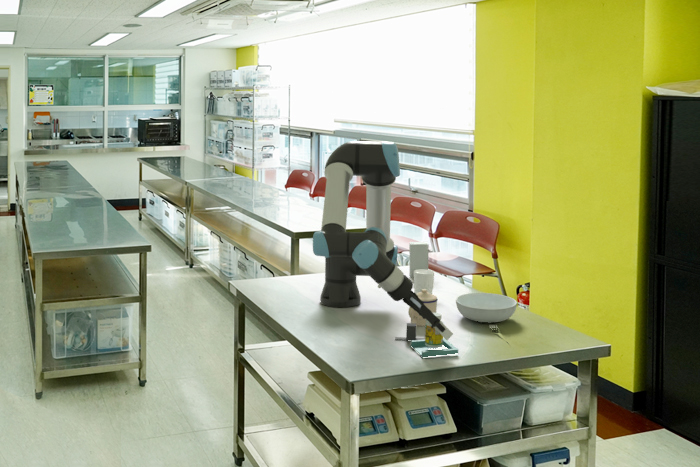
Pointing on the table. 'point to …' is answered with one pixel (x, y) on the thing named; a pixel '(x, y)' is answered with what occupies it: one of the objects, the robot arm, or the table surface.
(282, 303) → the table surface
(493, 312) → the serving bowl
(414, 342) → the open-sided tray holder
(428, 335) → the supplement bottle
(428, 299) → the teacup with lid
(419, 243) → the skincare box
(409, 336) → the clip posts
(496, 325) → the fork
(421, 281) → the white cup
